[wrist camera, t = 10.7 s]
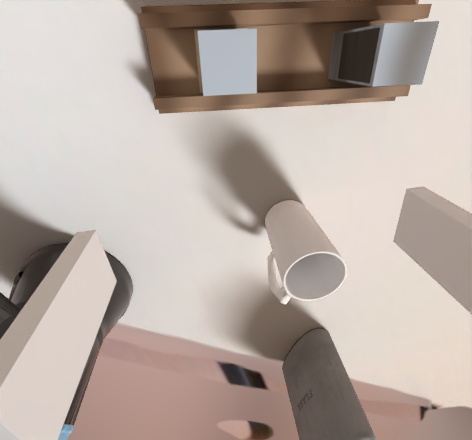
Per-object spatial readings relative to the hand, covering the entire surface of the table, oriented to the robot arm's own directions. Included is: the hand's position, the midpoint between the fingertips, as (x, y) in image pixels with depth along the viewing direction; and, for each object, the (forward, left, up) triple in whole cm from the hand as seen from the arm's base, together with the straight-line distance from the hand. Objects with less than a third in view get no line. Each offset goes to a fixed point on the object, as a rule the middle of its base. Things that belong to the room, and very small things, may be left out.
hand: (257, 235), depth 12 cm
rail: (+6, +6, -23) cm, 24 cm away
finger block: (0, +6, -22) cm, 22 cm away
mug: (+7, -15, -23) cm, 28 cm away
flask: (+13, -45, -23) cm, 52 cm away
